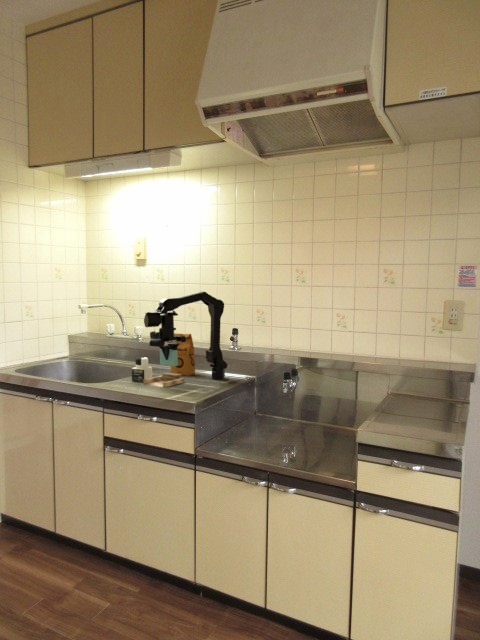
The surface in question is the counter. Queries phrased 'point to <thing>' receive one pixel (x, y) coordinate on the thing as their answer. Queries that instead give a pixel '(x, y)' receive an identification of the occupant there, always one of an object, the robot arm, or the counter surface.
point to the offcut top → (171, 375)
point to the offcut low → (167, 379)
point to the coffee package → (185, 357)
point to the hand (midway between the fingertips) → (168, 359)
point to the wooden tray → (162, 382)
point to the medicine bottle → (141, 370)
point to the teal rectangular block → (169, 358)
